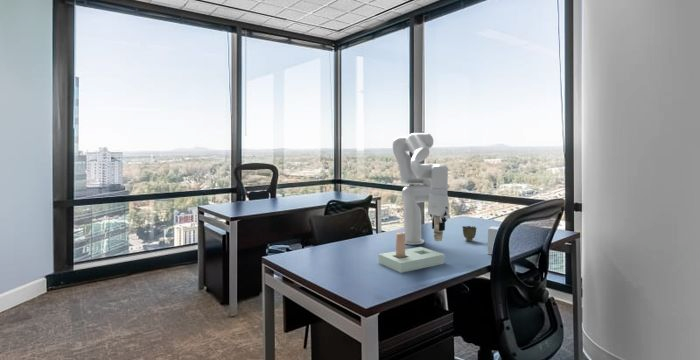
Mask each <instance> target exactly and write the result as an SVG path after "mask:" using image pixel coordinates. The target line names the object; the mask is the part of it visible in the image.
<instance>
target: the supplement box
mask: <svg viewBox="0 0 700 360" xmlns="http://www.w3.org/2000/svg"><path fill="white" fill-rule="evenodd" d="M499 227H500V226H493V225H492V226H490V227H489V228H487V254H488V255H491V253H492V247H493V242H494V239H495V236H496V234H497V231H498V228H499Z"/></svg>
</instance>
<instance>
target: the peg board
mask: <svg viewBox="0 0 700 360" xmlns="http://www.w3.org/2000/svg"><path fill="white" fill-rule="evenodd" d="M445 259H446V258H445V254H444V253H442V252H438V251H435V250H433V249H429V248H426V247H422V246H418V247H412V248H405V258H401V259H399V258H396V250H395V251H390V252H383V253H379V254H378V264H379V265H382V266H384V267H387V268H389V269H391V270H394V271H396V272H398V273H400V274H401V273H406V272H411V271H416V270H421V269H425V268H429V267H434V266H438V265H444V264H445V262H446V261H445Z"/></svg>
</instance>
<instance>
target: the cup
mask: <svg viewBox="0 0 700 360" xmlns="http://www.w3.org/2000/svg"><path fill="white" fill-rule="evenodd" d="M476 233H477V227H476V226H473V225H472V226H471V225H463V226H462V234H463V237H464V238H465V241H466V242H470V243H471V242H473V240H474V238H475V237H476V235H477V234H476Z"/></svg>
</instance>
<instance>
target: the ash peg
mask: <svg viewBox="0 0 700 360" xmlns="http://www.w3.org/2000/svg"><path fill="white" fill-rule="evenodd" d="M442 219H443V217H442ZM439 223H440V217H439V216H435V215H434V229H433V238H434V241H435V242H442V241H443V237H444V236H443V234H444V232H443V231H439Z"/></svg>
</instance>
